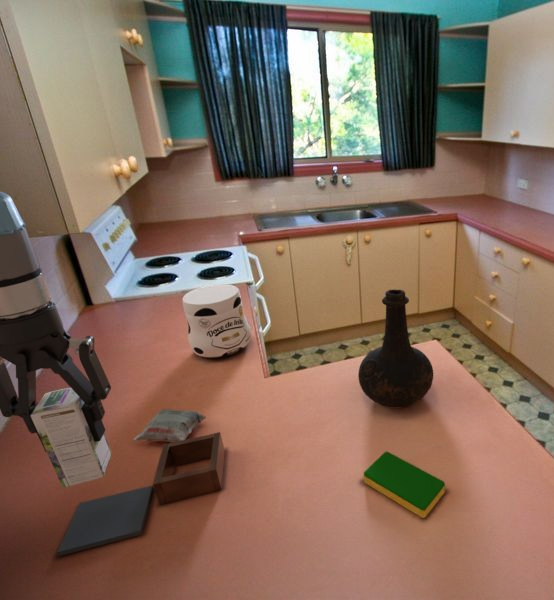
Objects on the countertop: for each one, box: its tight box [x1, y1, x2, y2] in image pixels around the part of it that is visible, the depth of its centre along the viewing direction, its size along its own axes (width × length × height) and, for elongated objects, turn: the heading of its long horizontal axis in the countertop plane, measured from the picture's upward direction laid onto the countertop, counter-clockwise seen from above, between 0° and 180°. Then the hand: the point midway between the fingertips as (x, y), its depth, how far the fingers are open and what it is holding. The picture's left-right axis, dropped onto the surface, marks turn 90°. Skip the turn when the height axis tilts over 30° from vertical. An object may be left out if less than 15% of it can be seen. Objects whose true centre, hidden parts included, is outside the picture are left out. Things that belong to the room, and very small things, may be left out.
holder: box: [152, 432, 226, 505], centre depth 82 cm, size 11×11×5 cm
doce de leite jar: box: [181, 283, 252, 359], centre depth 126 cm, size 17×17×18 cm
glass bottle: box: [357, 289, 434, 409], centre depth 99 cm, size 18×18×28 cm
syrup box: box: [31, 387, 113, 488], centre depth 67 cm, size 6×6×14 cm
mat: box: [56, 485, 155, 557], centre depth 74 cm, size 12×10×1 cm
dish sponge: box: [363, 451, 446, 519], centre depth 79 cm, size 7×14×2 cm, turn 53°
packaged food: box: [133, 408, 206, 443], centre depth 93 cm, size 9×12×5 cm
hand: (76, 440), depth 67 cm, fingers closed on syrup box, 6 cm apart
